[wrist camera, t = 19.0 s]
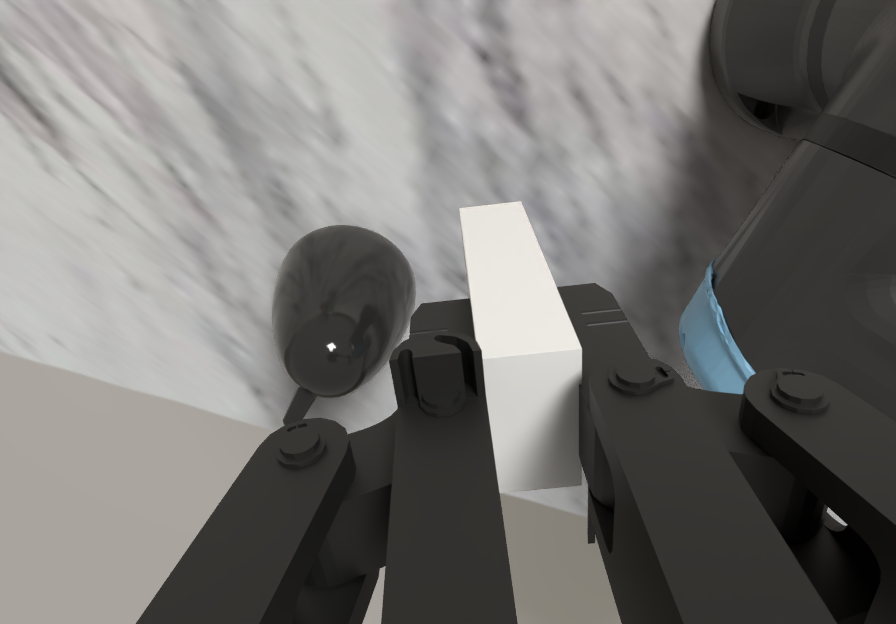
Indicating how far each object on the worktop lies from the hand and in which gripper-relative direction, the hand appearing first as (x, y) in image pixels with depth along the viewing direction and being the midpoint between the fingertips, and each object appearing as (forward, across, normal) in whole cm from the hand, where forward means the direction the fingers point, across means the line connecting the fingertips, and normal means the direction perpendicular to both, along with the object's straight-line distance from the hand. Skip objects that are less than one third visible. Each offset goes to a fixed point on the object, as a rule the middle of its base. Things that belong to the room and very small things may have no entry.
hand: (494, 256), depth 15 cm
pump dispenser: (+30, +10, +13) cm, 34 cm away
